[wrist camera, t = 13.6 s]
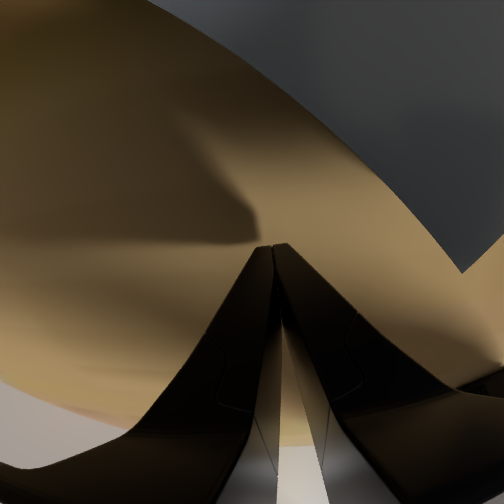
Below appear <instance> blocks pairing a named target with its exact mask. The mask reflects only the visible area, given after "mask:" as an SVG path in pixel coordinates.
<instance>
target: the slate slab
mask: <svg viewBox="0 0 504 504" xmlns="http://www.w3.org/2000/svg"><path fill="white" fill-rule="evenodd" d="M147 1H149V2H151V3H153V4H155V5H157V6H158V7H160V8H162V9H164V10H166V11H167V12H169V13H171V14H173V15H174V16H176V17H178V18H179V19H181V20H183V21H184V22H186V23H188V24H189V25H191V26H193V27H194V28H196V29H197V30H199V31H201V32H202V33H204V34H205V35H207V36H208V37H210V38H212V39H213V40H215V41H216V42H218V43H219V44H221V45H222V46H224V47H225V48H226V49H228V50H229V51H231V52H232V53H234V54H235V55H237V56H238V57H239V58H241V59H242V60H244V61H245V62H246V63H248V64H249V65H251V66H252V67H253V68H255V69H256V70H257V71H259V72H260V73H261V74H263V75H264V76H265V77H267V78H268V79H269V80H271V81H272V82H273V83H274V84H276V85H277V86H278V87H280V88H281V89H282V90H283V91H285V92H286V93H287V94H288V95H290V96H291V97H292V98H293V99H295V100H296V101H297V102H298V103H299V104H301V105H302V106H303V107H304V108H305V109H307V110H308V111H309V112H310V113H311V114H312V115H314V116H315V117H316V118H317V119H318V120H319V121H320V122H322V123H323V124H324V125H325V126H326V127H327V128H328V129H329V130H331V131H332V132H333V133H334V134H335V135H336V136H337V137H338V138H339V139H340V140H342V141H343V142H344V143H345V144H346V145H347V146H348V147H349V148H350V149H351V150H352V151H353V152H354V153H355V154H356V155H357V156H358V157H359V158H360V159H362V160H363V161H364V162H365V163H366V164H367V165H368V166H369V167H370V168H371V169H372V170H373V171H374V172H375V173H376V174H377V175H378V176H379V178H380V179H381V180H382V181H383V182H384V183H385V184H386V185H387V186H388V187H389V188H390V189H391V190H392V191H393V192H394V193H395V194H396V195H397V196H398V198H399V199H400V200H401V201H402V202H403V203H404V204H405V205H406V206H407V207H408V209H409V210H410V211H411V212H412V213H413V214H414V215H415V216H416V218H417V219H418V220H419V221H420V222H421V223H422V225H423V226H424V227H425V228H426V229H427V230H428V232H429V233H430V234H431V235H432V236H433V238H434V239H435V240H436V241H437V242H438V244H439V245H440V246H441V247H442V249H443V250H444V251H445V252H446V254H447V255H448V256H449V257H450V259H451V260H452V261H453V263H454V264H455V265H456V267H457V268H458V269H459V270H460V272H461V273H464V272H465V271H466V270H467V269H468V268H469V267H470V266H471V265H472V264H473V263H474V262H475V261H477V260H478V259H479V258H480V257H481V256H482V255H483V254H484V253H485V252H486V251H487V250H488V249H489V248H490V247H491V246H492V245H493V244H494V243H495V242H496V241H497V240H498V239H499V238H500V237H501V236H502V235H503V234H504V0H147Z"/></svg>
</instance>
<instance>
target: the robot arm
mask: <svg viewBox="0 0 504 504" xmlns="http://www.w3.org/2000/svg"><path fill="white" fill-rule="evenodd" d="M272 251H273V253H272ZM273 259H274V260H273ZM274 266H275V267H274ZM277 288H278V289H277ZM278 295H279V296H278ZM279 303H280V304H279ZM280 310H281V312H280ZM281 318H282V320H281ZM282 324H283V329H284V333H285V337H286V340H287V344H288V348H289V351H290V355H291V359H292V362H293V366H294V370H295V374H296V377H297V381H298V385H299V389H300V392H301V396H302V400H303V404H304V407H305V411H306V415H307V419H308V422H309V426H310V430H311V434H312V438H313V442H314V445H315V449H316V453H317V457H318V461H319V464H320V468H321V471H322V476H323V480H324V484H325V488H326V491H327V496H328V500H329V503H330V504H504V371H501V372H499V373H497V374H494V375H492V376H490V377H487V378H485V379H483V380H480V381H478V382H475V383H473V384H470V385H468V386H465V387H462V388H460V389H458V390H457V389H454V388H452V387H450V386H448V385H447V384H445V383H443V382H442V381H441V380H439V379H438V378H436V377H435V376H434V375H433V374H431V373H430V372H429V371H428V370H426V369H425V368H424V367H422V366H421V365H420V364H419V363H417V362H416V361H415V360H413V359H412V358H411V357H410V356H408V355H407V354H406V353H404V352H403V351H402V350H401V349H399V348H398V347H397V346H396V345H394V344H393V343H392V342H391V341H390V340H388V339H387V338H386V337H385V336H384V335H382V334H381V333H380V332H379V331H378V330H377V329H376V328H375V327H374V326H373V325H372V324H371V323H370V322H368V321H367V320H366V319H365V318H364V317H363V316H362V315H361V313H358V311H357V310H356V309H355V308H354V307H353V306H352V305H351V304H350V303H349V302H348V301H347V300H346V299H345V298H344V297H343V296H342V295H341V294H340V293H339V292H338V291H337V290H336V289H335V288H334V287H333V286H332V285H331V284H330V283H329V282H328V281H327V280H326V279H325V278H324V277H322V276H321V275H320V274H319V273H318V272H317V271H316V270H315V269H314V268H313V267H312V266H311V265H310V264H309V263H308V262H307V261H306V260H305V259H304V258H303V257H302V256H301V255H300V254H299V253H297V252H296V251H295V250H294V249H293V248H292V247H291V246H290V245H289V244H288V243H282V244H275V245H273V246H272V247H271V246H270V245H268V246H261V247H256V248H255V249H254V251H253V253H252V254H251V256H250V258H249V259H248V261H247V263H246V264H245V266H244V268H243V269H242V271H241V273H240V274H239V276H238V278H237V279H236V281H235V283H234V284H233V286H232V288H231V289H230V291H229V293H228V294H227V296H226V298H225V299H224V301H223V303H222V304H221V306H220V308H219V309H218V311H217V313H216V314H215V316H214V318H213V319H212V321H211V323H210V324H209V326H208V328H207V329H206V331H205V334H203V336H202V337H201V339H200V341H199V342H198V344H197V346H196V347H195V349H194V350H193V352H192V353H191V355H190V356H189V358H188V359H187V361H186V362H185V364H184V365H183V366H182V368H181V369H180V370H179V372H178V373H177V374H176V376H175V377H174V378H173V380H172V381H171V382H170V384H169V385H168V386H167V387H166V389H165V390H164V391H163V392H162V394H161V395H160V396H159V397H158V399H157V400H156V401H155V402H154V404H153V405H152V406H151V407H150V409H149V410H148V411H147V412H146V414H145V415H144V416H143V417H142V418H141V419H140V421H139V422H138V423H137V424H136V425H135V426H134V427H133V428H131V429H130V430H129V431H128V432H126V433H125V434H123V435H122V436H120V437H118V438H116V439H114V440H111V441H109V442H107V443H105V444H102V445H100V446H97V447H95V448H92V449H90V450H88V451H85V452H83V453H80V454H77V455H75V456H73V457H70V458H67V459H65V460H62V461H59V462H56V463H54V464H51V465H48V466H45V467H41V468H34V469H20V468H15V467H13V466H10V465H8V464H5V463H2V462H0V503H2V504H276V501H277V481H278V477H277V476H278V460H279V436H280V407H281V369H282Z"/></svg>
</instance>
